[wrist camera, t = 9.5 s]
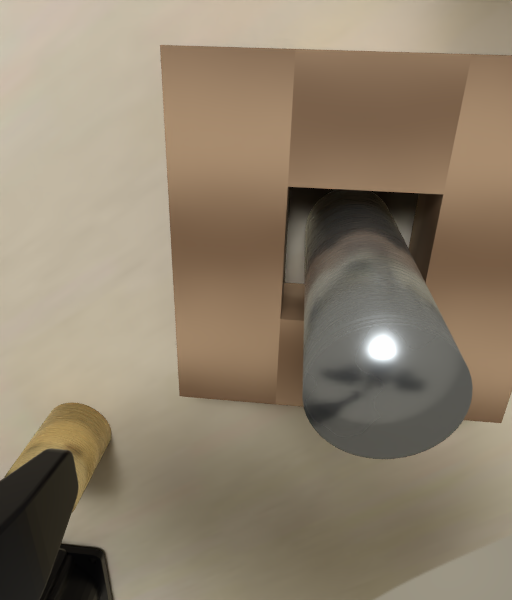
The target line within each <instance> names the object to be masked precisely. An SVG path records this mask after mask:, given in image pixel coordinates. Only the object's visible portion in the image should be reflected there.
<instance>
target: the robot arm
mask: <svg viewBox="0 0 512 600" xmlns="http://www.w3.org/2000/svg"><path fill="white" fill-rule="evenodd" d="M78 487H79V485H78V478H77V473H76V467H75V462H74V457H73V454H72V452H71V451H69V450H63V449H53V448H50V449H46V450H44V451H42V452H41V453H40V454H38V455H37V456H35V457H34V458H32V459H31V460H29V461H28V462H27V463H25V464H24V465H22V466H21V467H19V468H18V469H17V470H15V471H14V472H12V473H11V474H9V475H8V476H6V477H5V478H4V479H2V480H1V481H0V600H112V597H111V591H110V585H109V580H108V574H107V568H106V563H105V557H104V554H103V552H102V551H100V550H98V549H94V548H85V547H76V546H66V545H61V542H62V539H63V536H64V533H65V530H66V527H67V524H68V522H69V519H70V516H71V513H72V510H73V507H74V504H75V502H76V499H77V495H78Z"/></svg>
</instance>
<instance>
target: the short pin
mask: <svg viewBox="0 0 512 600" xmlns="http://www.w3.org/2000/svg"><path fill="white" fill-rule="evenodd" d="M110 439H111V428H110V426H109V424H108V422H107V420H106V419H105V418H104V417H103V415H101V414H100V413H99V412H98V411H96V410H95V409H93V408H91V407H89V406H87V405H84V404H80V403H65V404H61V405H59V406H57V407H56V408H54V409H53V410H52V411H51V413H50V414H49V416H48V417H47V418H46V420H45V421H44V423H43V424H42V425H41V427H40V428H39V430H38V431H37V432H36V434H35V435H34V436H33V438H32V439H31V441H30V442H29V443H28V445H27V446H26V448H25V449H24V450H23V452H22V453H21V455H20V456H19V457H18V459H17V460H16V462H15V463H14V464H13V466H12V467H11V469H10V470H9V471H8V473H7V474H6V476H8V475H9V474H11V473H12V472H14V471H15V470H17V469H18V468H19V467H21V466H22V465H24V464H25V463H27V462H28V461H29V460H31V459H32V458H34V457H35V456H37V455H38V454H40V453H41V452H42V451H44V450H46V449H50V448H53V449H63V450H69V451H71V452H72V454H73V457H74V462H75V467H76V473H77V478H78V485H79V487H78V495H77V499H76V502H75V504H74V507H73V510H72V512H73V511H74V510H75V508H76V506H77V504H78V502H79V500H80V498H81V496H82V494H83V492H84V490H85V488H86V486H87V484H88V482H89V481H90V479H91V477H92V475H93V473H94V471H95V469H96V467H97V465H98V463H99V461H100V459H101V457H102V455H103V453H104V451H105V449H106V447H107V446H108V444H109V442H110ZM6 476H5V477H6Z"/></svg>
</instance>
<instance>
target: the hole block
mask: <svg viewBox="0 0 512 600" xmlns="http://www.w3.org/2000/svg"><path fill="white" fill-rule="evenodd" d="M160 51H161V69H162V87H163V105H164V123H165V141H166V159H167V177H168V195H169V213H170V231H171V249H172V267H173V285H174V303H175V321H176V339H177V357H178V375H179V392H180V396H183V397H195V398H207V399H219V400H231V401H243V402H255V403H267V404H279V405H291V406H303V407H304V405H303V399H302V394H303V342H304V292H305V284H296V283H284V279H285V262H286V245H287V228H288V211H289V194H290V187H306V188H326V189H346V190H365V191H385V192H405V193H419V195H418V201H417V206H416V212H415V217H414V223H413V229H412V234H411V240H410V245H409V251H410V253H411V255H412V257H413V259H414V261H415V263H416V265H417V267H418V269H419V271H420V273H421V275H422V277H423V279H424V281H425V283H426V285H427V287H428V289H429V291H430V293H431V295H432V297H433V299H434V301H435V303H436V305H437V307H438V309H439V311H440V313H441V315H442V317H443V319H444V321H445V323H446V325H447V327H448V329H449V331H450V333H451V335H452V337H453V339H454V341H455V343H456V345H457V347H458V349H459V351H460V353H461V355H462V357H463V359H464V361H465V363H466V365H467V367H468V369H469V372H470V375H471V379H472V386H473V389H472V399H471V404H470V407H469V410H468V412H467V414H466V416H465V418H464V420H470V421H482V422H494V423H501V422H502V419H503V416H504V413H505V410H506V407H507V404H508V401H509V398H510V395H511V392H512V55H478V54H444V53H410V52H376V51H342V50H308V49H274V48H240V47H206V46H172V45H160Z"/></svg>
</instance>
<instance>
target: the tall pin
mask: <svg viewBox="0 0 512 600" xmlns="http://www.w3.org/2000/svg"><path fill="white" fill-rule="evenodd" d="M472 389H473V386H472V379H471V375H470V372H469V369H468V367H467V365H466V363H465V361H464V359H463V357H462V355H461V353H460V351H459V349H458V347H457V345H456V343H455V341H454V339H453V337H452V335H451V333H450V331H449V329H448V327H447V325H446V323H445V321H444V319H443V317H442V315H441V313H440V311H439V309H438V307H437V305H436V303H435V301H434V299H433V297H432V295H431V293H430V291H429V289H428V287H427V285H426V283H425V281H424V279H423V277H422V275H421V273H420V271H419V269H418V267H417V265H416V263H415V261H414V259H413V257H412V255H411V253H410V251H409V249H408V247H407V245H406V243H405V241H404V239H403V237H402V235H401V233H400V231H399V229H398V227H397V225H396V223H395V221H394V219H393V217H392V215H391V213H390V211H389V209H388V207H387V206H386V204H385V203H384V201H383V200H382V199H381V198H380V197H378V196H377V195H376V194H374V193H372V192H371V191H365V190H346V189H337V190H334V191H332V192H330V193H328V194H326V195H325V196H323V197H322V198H321V199H320V200H319V201H318V202H317V203H316V204H315V205H314V206H313V208H312V210H311V211H310V213H309V216H308V219H307V222H306V241H305V292H304V342H303V394H302V399H303V405H304V410H305V413H306V416H307V417H308V419H309V421H310V423H311V425H312V426H313V428H314V429H315V430H316V431H317V432H318V433H319V435H320V436H321V437H323V438H324V439H325V440H326V441H327V442H329V443H330V444H332V445H333V446H335V447H337V448H339V449H341V450H343V451H345V452H348V453H351V454H353V455H357V456H361V457H366V458H373V459H395V458H402V457H407V456H411V455H415V454H418V453H421V452H423V451H426V450H428V449H430V448H432V447H434V446H436V445H437V444H439V443H441V442H442V441H444V440H445V439H446V438H447V437H449V436H450V435H451V434H452V433H453V432H454V431H455V430H456V429H457V428H458V426H459V425H460V424H461V423H462V421H463V420H464V418H465V416H466V414H467V412H468V410H469V407H470V404H471V399H472Z"/></svg>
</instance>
